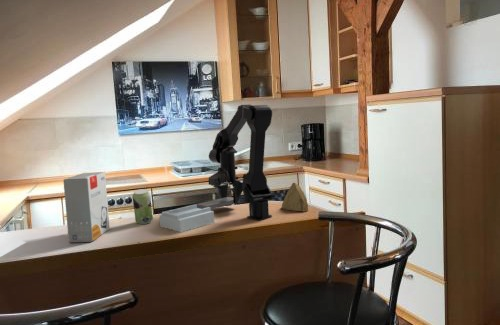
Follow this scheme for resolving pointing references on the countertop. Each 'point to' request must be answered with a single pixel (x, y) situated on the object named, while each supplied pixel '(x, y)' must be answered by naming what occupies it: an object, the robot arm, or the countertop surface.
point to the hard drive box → (86, 206)
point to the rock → (295, 199)
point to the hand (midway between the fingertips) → (230, 203)
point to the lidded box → (186, 218)
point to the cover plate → (216, 203)
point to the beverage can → (142, 206)
